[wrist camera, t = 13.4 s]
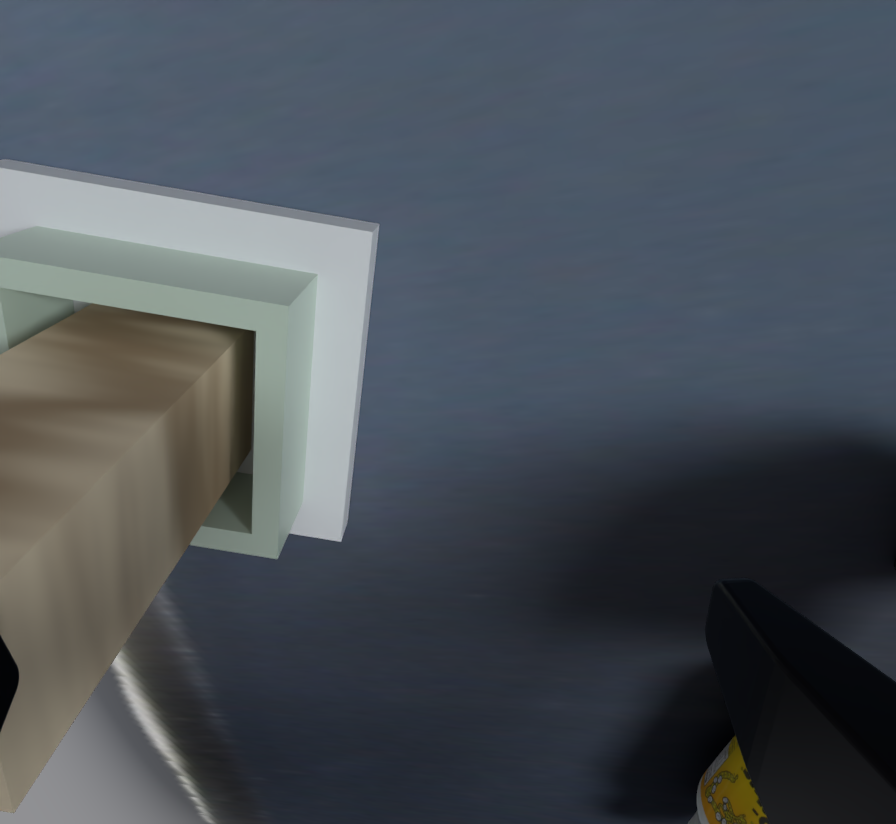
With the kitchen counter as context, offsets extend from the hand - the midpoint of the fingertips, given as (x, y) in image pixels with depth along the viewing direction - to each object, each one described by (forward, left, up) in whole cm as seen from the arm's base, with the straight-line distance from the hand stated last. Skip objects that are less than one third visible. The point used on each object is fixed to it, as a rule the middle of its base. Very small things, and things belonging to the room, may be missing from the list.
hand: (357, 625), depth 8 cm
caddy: (+8, +3, -13) cm, 16 cm away
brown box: (+8, +3, -12) cm, 15 cm away
